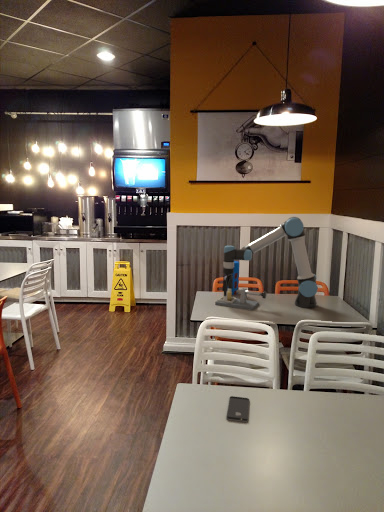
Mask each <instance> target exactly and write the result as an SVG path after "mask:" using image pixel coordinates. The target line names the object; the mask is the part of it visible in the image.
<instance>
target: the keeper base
mask: <svg viewBox="0 0 384 512" xmlns="http://www.w3.org/2000/svg"><path fill="white" fill-rule="evenodd" d="M240 290H241V293H240V298H237V297H232V298H231V301H227V300H223V295H222V296H221V297H219V298H218V299H217V300H216V301H215V302H214V303H215V305H216V306H221V307H222V306H223V307H228V308H234V309H241V310H248V311H253V310H254V309H255V308H257V307H258V306H259V304H260V302H259V301H257V300H256V301H255V300H248V299H247V295H248V294H245V290H246V291H248V289H247V288H245V287H244V288H242V289H240Z"/></svg>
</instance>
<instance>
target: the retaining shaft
mask: <svg viewBox="0 0 384 512" xmlns="http://www.w3.org/2000/svg"><path fill="white" fill-rule="evenodd" d="M236 292H237V293H238V294H241V289H239V288H238V289H237V291H236ZM245 294H247V295H250V296H257V297H262V299H264V300H265V299H267V295H268V294H267V291H265V290H263V292H260V291H251V290H247V291H246V290H245Z"/></svg>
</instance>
